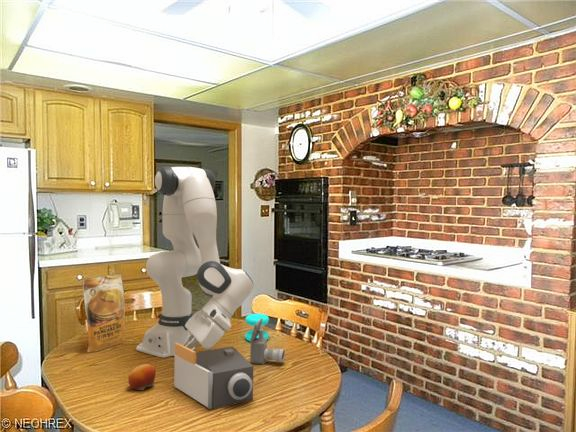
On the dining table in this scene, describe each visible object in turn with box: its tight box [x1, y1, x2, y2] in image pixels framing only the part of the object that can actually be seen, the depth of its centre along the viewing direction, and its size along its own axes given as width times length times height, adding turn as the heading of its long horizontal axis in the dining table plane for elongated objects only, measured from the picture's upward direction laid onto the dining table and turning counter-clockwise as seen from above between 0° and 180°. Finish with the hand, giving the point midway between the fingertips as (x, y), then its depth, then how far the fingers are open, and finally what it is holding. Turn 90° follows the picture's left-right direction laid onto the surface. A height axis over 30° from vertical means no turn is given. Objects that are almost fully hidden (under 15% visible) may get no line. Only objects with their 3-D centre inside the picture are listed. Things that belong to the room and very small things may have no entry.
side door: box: [173, 343, 213, 410], centre depth 118 cm, size 19×1×14 cm, turn 46°
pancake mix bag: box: [81, 273, 126, 353], centre depth 158 cm, size 7×19×28 cm, turn 149°
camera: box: [249, 318, 286, 365], centre depth 145 cm, size 9×12×15 cm
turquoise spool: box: [244, 313, 270, 342], centre depth 170 cm, size 10×10×10 cm
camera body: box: [196, 346, 254, 409], centre depth 121 cm, size 20×12×11 cm, turn 27°
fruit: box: [127, 363, 157, 391], centre depth 124 cm, size 8×8×8 cm
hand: (184, 349), depth 123 cm, fingers closed
